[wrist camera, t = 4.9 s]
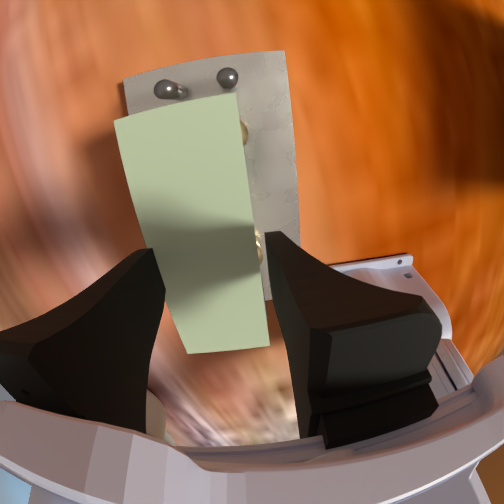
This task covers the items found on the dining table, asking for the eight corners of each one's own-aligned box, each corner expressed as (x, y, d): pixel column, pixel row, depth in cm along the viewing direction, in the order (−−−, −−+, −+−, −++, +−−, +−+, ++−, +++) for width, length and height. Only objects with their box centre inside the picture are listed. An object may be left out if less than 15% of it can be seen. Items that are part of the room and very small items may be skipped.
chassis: (281, 53, 14) (298, 35, 10) (299, 288, 23) (312, 330, 19) (128, 80, 14) (94, 75, 10) (181, 302, 23) (172, 345, 19)
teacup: (78, 373, 29) (61, 422, 22) (133, 359, 27) (117, 421, 20) (143, 422, 36) (137, 465, 29) (200, 414, 34) (197, 464, 27)
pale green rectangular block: (235, 98, 14) (235, 92, 8) (261, 280, 20) (270, 345, 14) (156, 113, 14) (113, 120, 8) (197, 288, 20) (187, 353, 14)
